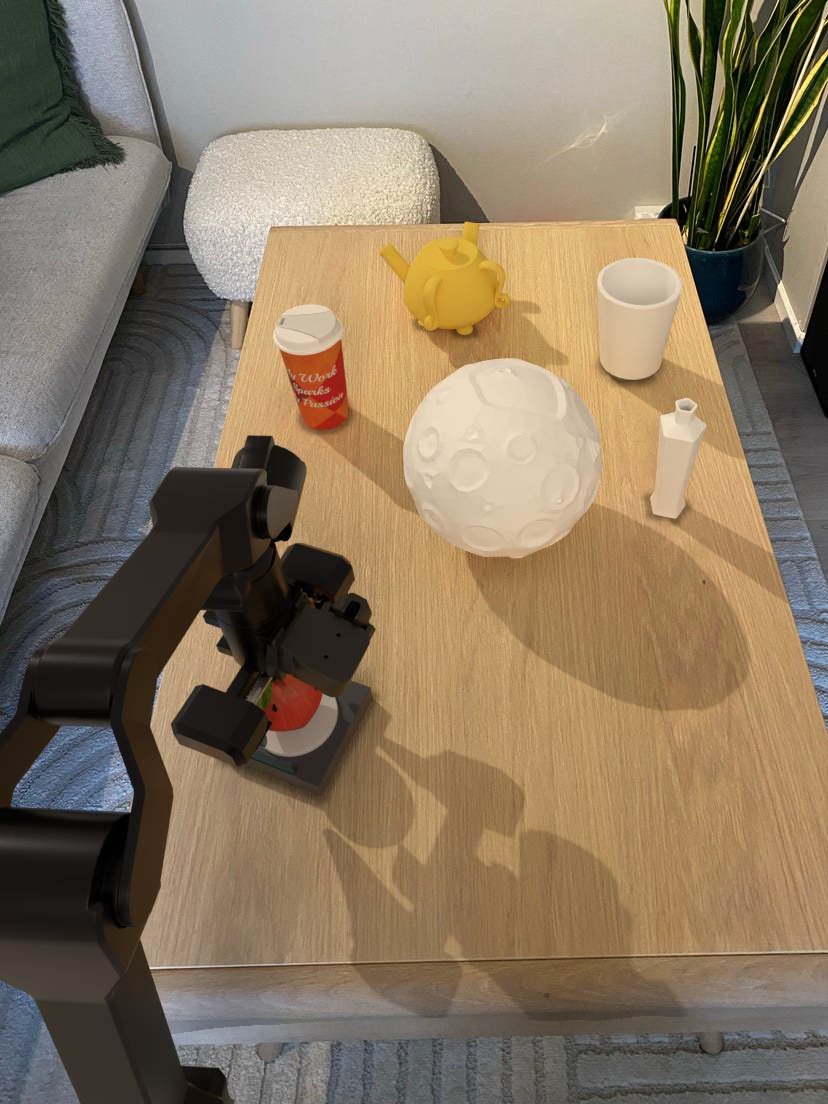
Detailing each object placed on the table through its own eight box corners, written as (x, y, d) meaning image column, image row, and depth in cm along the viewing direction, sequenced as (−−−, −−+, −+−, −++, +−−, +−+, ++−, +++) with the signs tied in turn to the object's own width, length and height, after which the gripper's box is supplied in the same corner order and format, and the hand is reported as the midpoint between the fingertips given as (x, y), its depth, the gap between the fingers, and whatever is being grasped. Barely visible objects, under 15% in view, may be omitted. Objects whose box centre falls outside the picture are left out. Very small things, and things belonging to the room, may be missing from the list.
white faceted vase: (657, 526, 98) (676, 427, 87) (639, 497, 100) (655, 397, 89) (696, 515, 98) (719, 415, 87) (677, 486, 101) (697, 386, 90)
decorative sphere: (630, 556, 95) (650, 424, 81) (451, 623, 90) (439, 494, 76) (548, 434, 107) (554, 300, 93) (387, 486, 103) (366, 353, 88)
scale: (321, 796, 79) (317, 783, 77) (222, 757, 81) (215, 744, 80) (373, 697, 85) (369, 683, 83) (279, 664, 88) (274, 649, 86)
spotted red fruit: (244, 696, 83) (218, 636, 75) (317, 667, 84) (298, 606, 77) (267, 770, 78) (240, 714, 70) (343, 738, 80) (325, 681, 72)
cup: (586, 341, 118) (592, 258, 109) (661, 337, 119) (674, 254, 109) (595, 393, 112) (603, 310, 102) (675, 389, 112) (690, 306, 102)
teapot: (477, 269, 130) (474, 199, 122) (521, 323, 121) (521, 252, 113) (383, 298, 126) (373, 228, 118) (421, 356, 117) (414, 285, 109)
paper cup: (285, 433, 109) (261, 342, 98) (304, 389, 114) (283, 298, 103) (349, 439, 108) (331, 348, 97) (365, 395, 113) (350, 304, 102)
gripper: (281, 741, 60) (319, 832, 71) (401, 530, 71) (417, 637, 83) (139, 687, 63) (198, 782, 74) (277, 493, 74) (309, 601, 86)
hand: (288, 696), depth 79 cm, fingers open, 9 cm apart
